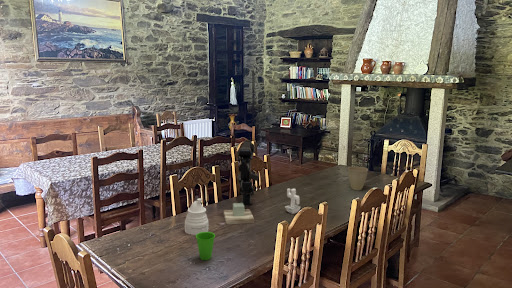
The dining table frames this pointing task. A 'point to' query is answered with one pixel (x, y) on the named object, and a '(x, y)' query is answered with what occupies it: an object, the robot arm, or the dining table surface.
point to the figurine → (293, 201)
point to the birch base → (238, 217)
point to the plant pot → (357, 177)
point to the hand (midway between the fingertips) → (244, 193)
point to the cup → (205, 244)
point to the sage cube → (238, 209)
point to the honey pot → (196, 219)
